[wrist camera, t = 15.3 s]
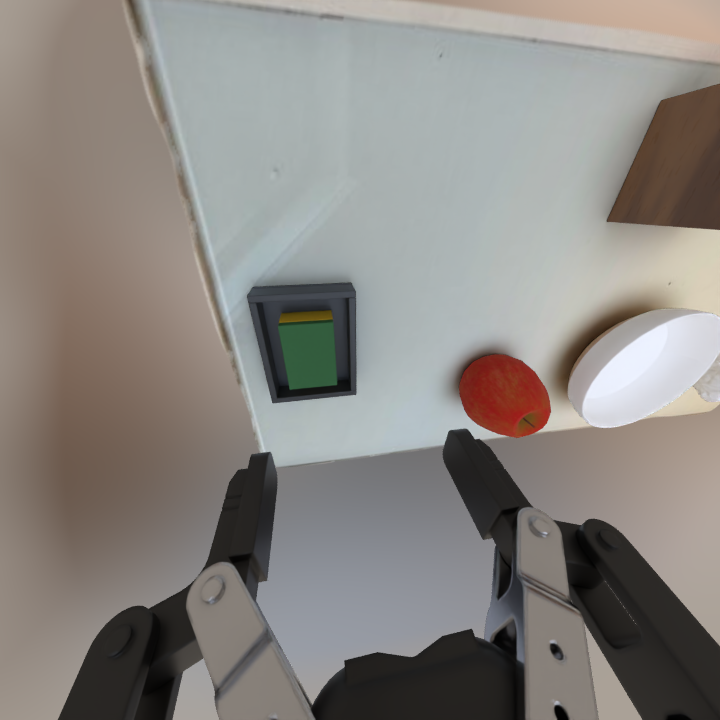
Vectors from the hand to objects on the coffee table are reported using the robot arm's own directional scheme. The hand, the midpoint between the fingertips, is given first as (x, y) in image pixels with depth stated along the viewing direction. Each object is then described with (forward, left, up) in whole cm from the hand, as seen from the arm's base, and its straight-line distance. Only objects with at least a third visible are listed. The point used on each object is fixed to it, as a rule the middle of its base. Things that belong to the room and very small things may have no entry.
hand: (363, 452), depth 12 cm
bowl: (+39, +23, -21) cm, 49 cm away
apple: (+25, +7, -21) cm, 33 cm away
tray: (+1, -5, -21) cm, 21 cm away
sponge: (+1, -5, -20) cm, 21 cm away
